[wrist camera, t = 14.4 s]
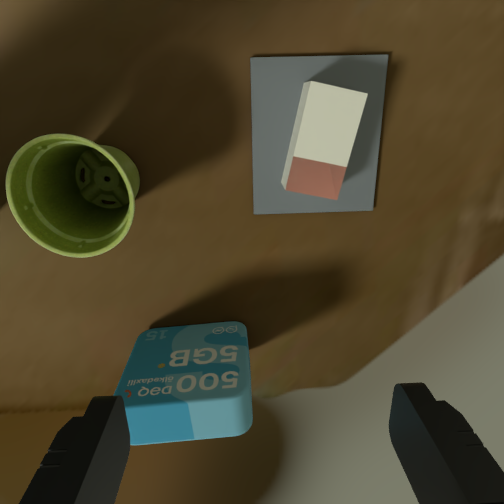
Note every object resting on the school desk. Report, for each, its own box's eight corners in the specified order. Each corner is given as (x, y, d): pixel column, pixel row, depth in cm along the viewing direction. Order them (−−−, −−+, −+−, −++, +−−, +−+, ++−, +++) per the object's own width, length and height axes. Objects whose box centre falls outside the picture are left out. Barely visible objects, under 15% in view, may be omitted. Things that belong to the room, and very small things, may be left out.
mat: (253, 213, 38) (253, 214, 38) (250, 58, 33) (250, 57, 32) (371, 209, 38) (372, 210, 38) (386, 55, 33) (388, 54, 33)
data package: (246, 319, 43) (249, 395, 31) (249, 351, 44) (253, 435, 33) (140, 328, 43) (106, 409, 31) (147, 361, 44) (117, 448, 33)
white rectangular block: (303, 82, 33) (311, 80, 30) (355, 94, 34) (368, 93, 31) (281, 182, 36) (285, 190, 33) (328, 191, 37) (337, 200, 34)
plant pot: (61, 220, 38) (14, 253, 29) (52, 121, 34) (-5, 127, 26) (156, 227, 38) (135, 261, 30) (156, 131, 35) (132, 140, 27)
